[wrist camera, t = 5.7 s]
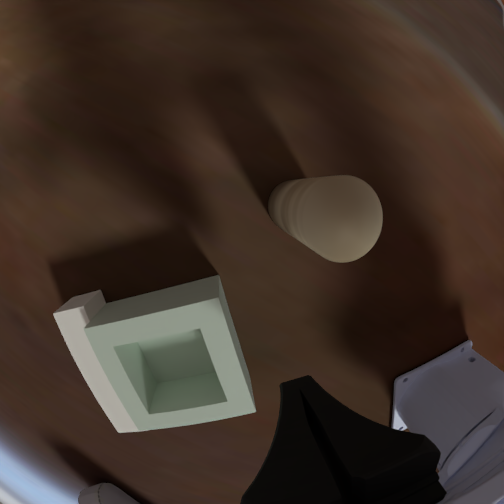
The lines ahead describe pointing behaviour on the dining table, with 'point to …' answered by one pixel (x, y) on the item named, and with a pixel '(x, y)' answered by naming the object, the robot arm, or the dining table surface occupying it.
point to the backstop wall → (91, 355)
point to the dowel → (329, 215)
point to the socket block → (173, 356)
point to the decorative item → (104, 495)
